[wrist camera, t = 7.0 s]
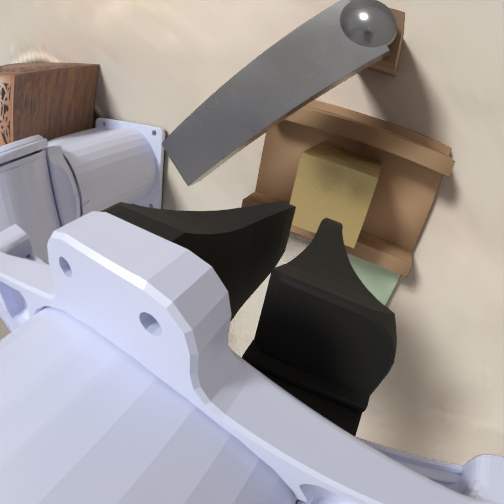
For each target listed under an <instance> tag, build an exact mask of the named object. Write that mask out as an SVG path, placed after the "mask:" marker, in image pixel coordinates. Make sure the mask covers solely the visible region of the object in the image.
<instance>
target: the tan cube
mask: <svg viewBox="0 0 504 504" xmlns="http://www.w3.org/2000/svg"><path fill="white" fill-rule="evenodd" d="M382 162H383V161H380V160H378V159H375V158H372V157H369V156H367V155H364V154H361V153H358V152H355V151H352V150H349V149H346V148H343V147H340V146H337V145H334V144H331V143H327V142H324V141H323V142H321V143H319V144H317V145H315V146H313V147H311V148H309V149H307V150H305V151H303V152H301V157H300V161H299V165H298V170H297V174H296V178H295V183H294V187H293V191H292V195H291V200H290V205H293V206H296V209H295V213H294V217H293V221H292V225H294V226H297V227H300V228H302V229H305V230H308V231H310V232H313V233H315V234H316V232H317V230H318V227H319V225H320V223H321V221H322V220H323V219H324V218H329V219H332V220H334V221H337V222H340V223H342V226H343V229H342V233H343V240H344V245H346V246H349V247H351V248H354V247H355V244H356V242H357V239H358V236H359V234H360V231H361V228H362V225H363V222H364V220H365V217H366V214H367V211H368V208H369V205H370V202H371V200H372V197H373V194H374V191H375V187H376V184H377V181H378V178H379V174H380V170H381V166H382Z"/></svg>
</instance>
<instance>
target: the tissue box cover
mask: <svg viewBox="0 0 504 504" xmlns="http://www.w3.org/2000/svg"><path fill="white" fill-rule="evenodd" d="M98 71H99V65H98V64H82V63H15V64H9V65H3V66H0V147H1V146H4V145H6V144H9V143H12V142H15V141H18V140H22V139H25V138H28V137H31V136H35V135H40V136H42V137H43V138H46V139H47V140H48V141H50V140H52V139H55V138H58V137H62V136H65V135H69V134H73V133H76V132H80V131H84V130H88V129H92V128H93V115H94V104H95V95H96V86H97V78H98Z"/></svg>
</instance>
